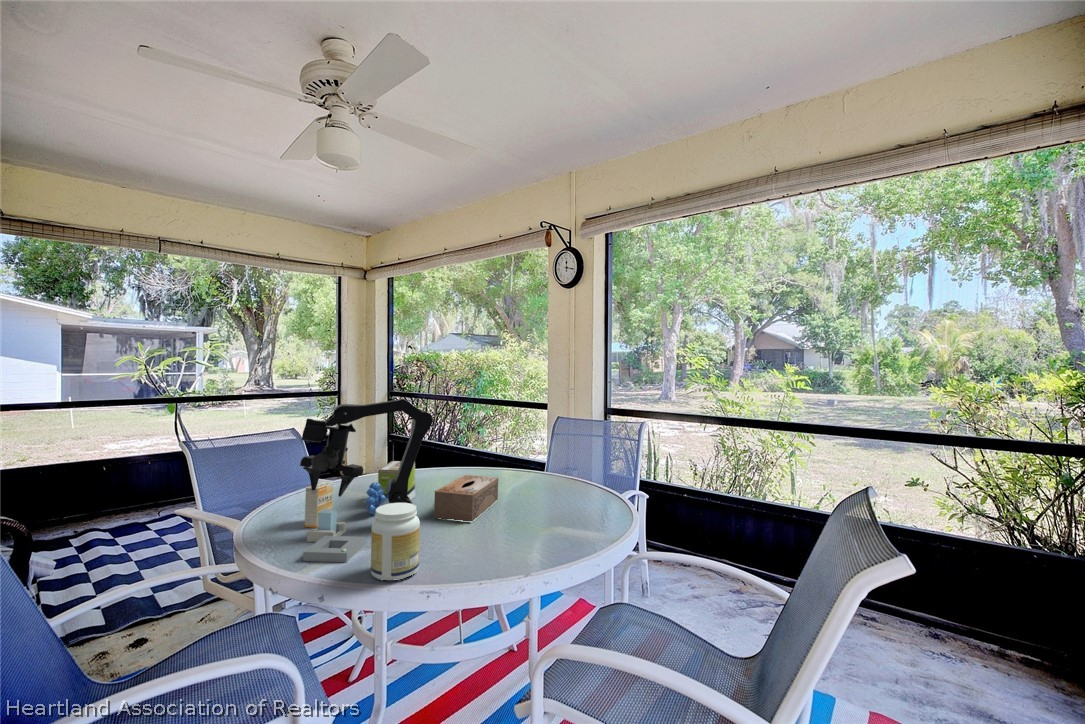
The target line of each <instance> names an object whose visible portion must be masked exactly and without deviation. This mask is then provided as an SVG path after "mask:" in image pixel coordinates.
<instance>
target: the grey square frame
mask: <svg viewBox="0 0 1085 724" xmlns="http://www.w3.org/2000/svg"><path fill="white" fill-rule="evenodd" d="M346 532H347V522H345V521H337V523H336V530H318V529H309V530H307V531H306V542H309V543H313V542H314V543H316V542H317V541H318V540H319V539H321V538H322V537H323V536H342V535H344V534H345V533H346Z"/></svg>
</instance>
